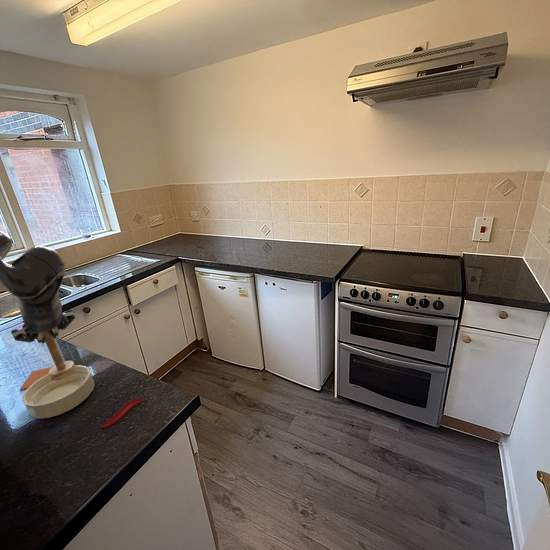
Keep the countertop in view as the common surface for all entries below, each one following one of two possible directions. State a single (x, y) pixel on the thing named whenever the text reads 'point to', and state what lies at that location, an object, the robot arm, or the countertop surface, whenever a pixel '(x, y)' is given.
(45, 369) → the spoon rest
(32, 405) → the bowl
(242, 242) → the countertop surface
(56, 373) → the wooden pestle
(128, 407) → the cayenne pepper
